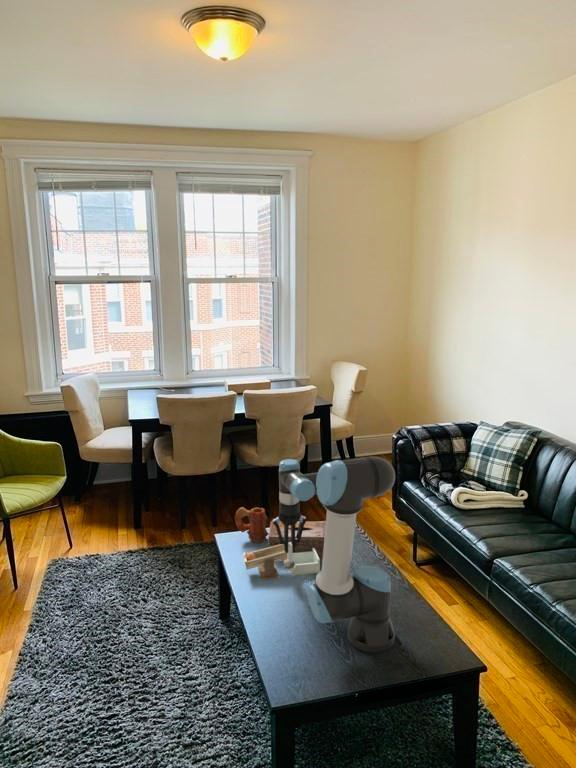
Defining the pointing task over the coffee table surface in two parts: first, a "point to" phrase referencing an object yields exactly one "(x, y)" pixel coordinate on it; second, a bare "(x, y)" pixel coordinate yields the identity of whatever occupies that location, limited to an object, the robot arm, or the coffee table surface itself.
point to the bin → (306, 563)
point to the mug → (253, 523)
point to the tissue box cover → (309, 539)
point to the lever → (269, 557)
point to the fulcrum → (268, 570)
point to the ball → (250, 556)
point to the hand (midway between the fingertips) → (289, 559)
